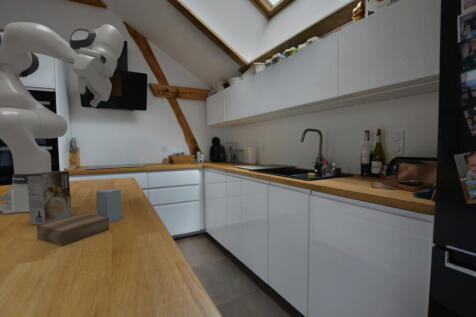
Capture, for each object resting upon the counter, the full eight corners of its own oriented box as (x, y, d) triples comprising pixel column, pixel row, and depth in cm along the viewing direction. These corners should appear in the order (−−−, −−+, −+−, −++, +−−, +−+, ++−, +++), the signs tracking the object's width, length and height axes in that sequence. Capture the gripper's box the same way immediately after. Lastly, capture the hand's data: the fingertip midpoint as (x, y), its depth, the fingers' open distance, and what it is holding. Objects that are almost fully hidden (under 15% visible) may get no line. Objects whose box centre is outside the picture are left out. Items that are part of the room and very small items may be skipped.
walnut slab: (37, 239, 61) (36, 224, 61) (83, 225, 72) (83, 212, 72) (63, 247, 56) (62, 231, 56) (109, 231, 67) (108, 217, 67)
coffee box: (57, 215, 81) (55, 170, 80) (72, 216, 80) (70, 171, 79) (28, 224, 72) (26, 173, 71) (45, 225, 71) (42, 174, 70)
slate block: (97, 221, 75) (96, 191, 74) (111, 217, 79) (110, 188, 79) (107, 223, 72) (106, 192, 72) (121, 218, 77) (120, 189, 76)
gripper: (102, 79, 92) (90, 110, 88) (77, 43, 72) (60, 81, 69) (119, 83, 93) (107, 114, 89) (98, 49, 73) (82, 86, 70)
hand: (87, 99), depth 79 cm, fingers open, 8 cm apart
